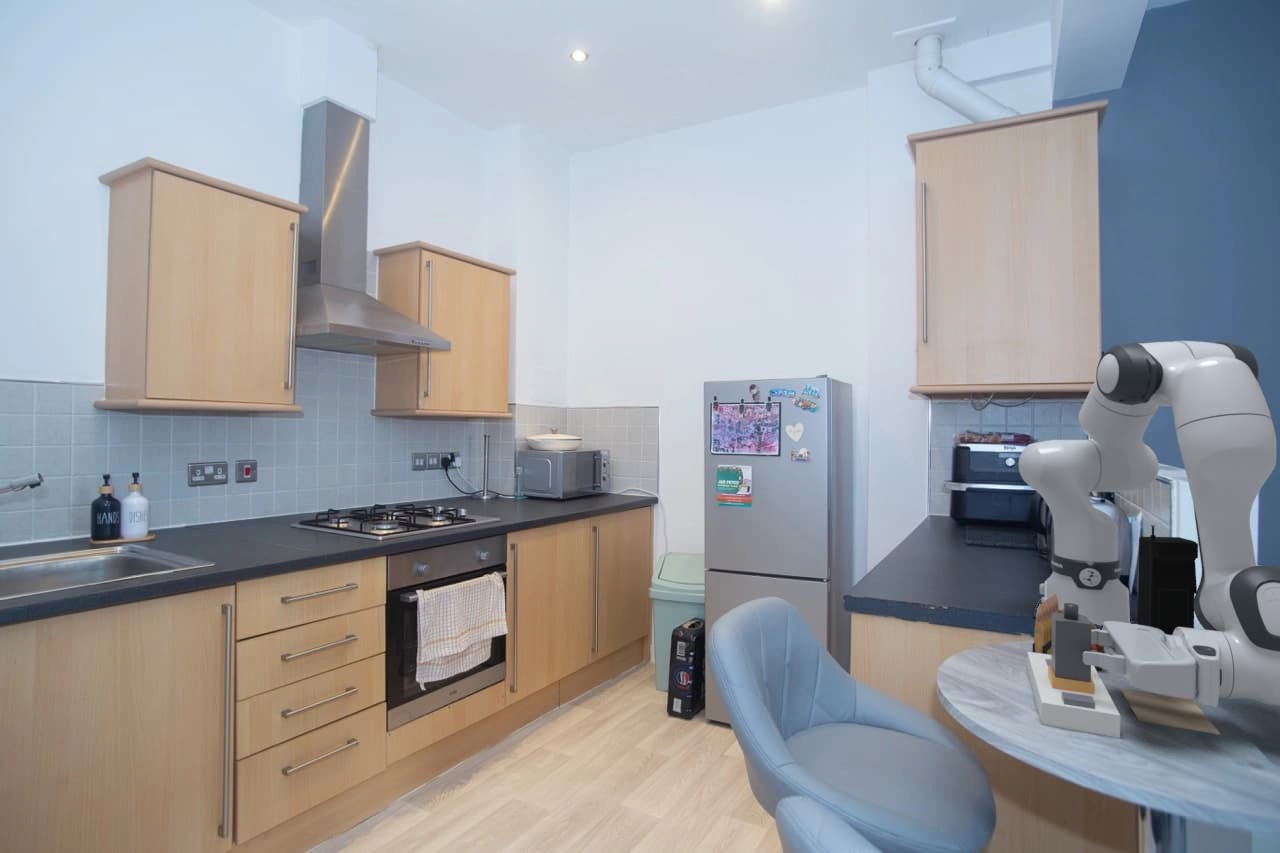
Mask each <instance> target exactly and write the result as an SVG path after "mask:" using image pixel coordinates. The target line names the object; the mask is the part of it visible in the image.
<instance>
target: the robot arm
mask: <svg viewBox="0 0 1280 853" xmlns="http://www.w3.org/2000/svg"><path fill="white" fill-rule="evenodd" d="M1259 370H1260V368H1259V364H1258V361H1257V359H1256V357H1255V354H1254V353H1253V352H1252V350H1250V349H1249V348H1248V347H1245V346H1242V345H1240V344H1236V343H1231V342H1226V341H1225V342H1224V341H1217V342H1207V341H1195V340H1174V341H1155V342H1144V343H1142V342H1141V343H1140V342H1127V343H1121V344H1117V345H1114V346H1111V347H1109V348H1108V349H1107V350H1106V351H1105V352H1104V353H1103V354H1102V356H1101V357H1100V359H1099V361H1098V363H1097V366H1096V373H1095V374H1096V375H1095V378H1096V379H1095V380H1094V382H1093V384H1092V386H1091V389H1089V392H1088V394H1087V396H1086V398H1085V399H1084V402H1083V403H1082V405H1081V407H1080V410H1079V412H1078V424H1079V426H1080V428H1081V430H1082V431H1083V433H1084V434H1085V435H1086V436H1088V437H1089V439H1050V440H1043V441H1038V442H1034V443H1030V444H1028V445H1026V446H1025V447H1024V449H1023V450H1022V452H1021V453H1020V455H1019V459H1018V471H1019V475H1020V476H1021V478H1022V480H1023V481H1024V482H1025V484H1027V485H1028V486H1029V487H1030V488H1032V489H1033V490H1034V491H1035V492H1037V493H1038V494H1039V496H1041V497H1042V498H1043V500H1044V501H1045V504H1046V505H1047V506H1048V509H1049V511H1050V514H1051V517H1052V521H1053V530H1054V532H1053V534H1054V535H1053V536H1054V552H1053V554H1052V556H1051V557H1052V559H1051V570H1052V573H1051V575H1050V576H1049V577H1048V578H1046V580H1045V581H1044V582H1043V583H1040V584H1039V594H1040V595H1044V596H1042V597H1041V598H1040V600H1041V602H1045V600H1047V599H1048V598H1050V597H1051V596H1053V595H1054V594H1056V596H1057V599H1058V606H1059V610H1064V603H1073V604H1077V605H1078V613H1079V614H1080V615H1082V616H1087V618H1088V620H1089V621H1091V622H1092V623H1093V624H1097V625H1100V626H1101V625H1103V628H1102V630H1100V629H1094V630H1091V644H1098V645H1100V646H1104V647H1106V649H1107V650H1108V652H1109V653H1105V654H1104V653H1099V652H1097V651H1096V650H1088V649H1083V650H1082V660H1083V662H1084V664H1086V665H1092V666H1099V667H1101V668H1103V669H1104V670H1107V671H1109V672H1113V673H1118V674H1123V676H1124V677H1125V679H1126V680H1127V682H1128V683H1129V685H1130V686H1131V687H1133V688H1135V689H1138V690H1141V691H1142V692H1146V693H1151V694H1157V695H1164V696H1171V697H1177V698H1183V699H1191V700H1193V701H1194V702H1195V703H1196V704H1199V705H1201V706H1207V707H1214V708H1215V707H1218V706H1219V701H1220V699H1226V700H1227V699H1228V700H1232V699H1233V700H1234V699H1249V700H1252V701H1256V702H1259V703H1261V704H1264V705H1269V706H1275V707H1276V706H1277V707H1280V567H1276V566H1271V565H1257V562H1256V558H1255V557H1256V556H1255V550H1254V549H1255V548H1254V543H1253V538H1252V530H1251V520H1250V519H1251V518H1250V517H1251V511H1252V508H1253V504H1254V502H1255V500H1256V498H1257V496H1258V494H1259V493H1260V491H1261V489H1262V487H1263V485H1264V484H1265V483H1266V481H1267V480H1268V478H1270V476H1271V475H1272V472H1273V471H1274V470H1275V468H1276V464H1277V453H1278V452H1277V448H1278V447H1277V446H1278V445H1277V437H1276V431H1275V427H1274V422H1273V419H1272V415H1271V411H1270V409H1269V406H1268V403H1267V400H1266V397H1265V395H1264V393H1263V390H1262V389H1261V385H1260V384H1259V382H1258V380H1259V376H1260V375H1259V374H1260V371H1259ZM1159 407H1167V408H1169V407H1170V408H1171V409H1172V415H1173V422H1174V429H1175V434H1176V439H1177V444H1178V447H1179V451H1180V455H1181V459H1182V462H1183V466H1184V470H1185V473H1186V478H1187V482H1188V487H1189V491H1190V495H1191V500H1192V503H1193V504H1192V505H1193V512H1194V520H1195V527H1196V529H1195V530H1196V535H1197V543H1198V551H1199V557H1200V564H1201V577H1200V581H1199V585H1198V587H1197V592H1196V594H1194V616H1196V619H1197V621H1198V623H1199V624H1200V626H1201V627H1202V628H1203V629H1202V628H1195V627H1194V628H1186V627H1177V628H1175V630H1174V632H1173V635H1168V634H1165V633H1164V632H1163V631H1162V630H1160V629H1157V628H1154V627H1149V626H1144V625H1138V624H1131V623H1130V619H1131V616H1130V615H1131V613H1130V610H1131V609H1130V591H1129V588H1128V587H1127V586H1126V585H1124V584H1123V583H1122V582H1121V581H1120V578H1121V570H1122V568H1121V567H1122V566H1121V561H1120V560H1119V558H1118V553H1119V552H1118V550H1119V549H1118V547H1119V546H1118V544H1119V538H1118V537H1119V534H1118V533H1119V527H1118V524H1117V523H1116V521H1115V520H1114V518H1113V517H1112V516H1111V515H1109V514H1107V513H1106V512H1104V511H1102V510H1100V509H1099V508H1096V507H1094V506H1093V504H1092V503H1091V500H1090V492H1091V493H1096V492H1097V493H1124V492H1133V491H1137V490H1143V489H1147V488H1149V487H1150V486H1151V485H1152V484H1153V483H1154V482H1155V480H1156V478H1157V477H1158V475H1159V471H1160V470H1159V468H1160V464H1159V460H1158V457H1157V455H1156V453H1155V452H1154V450H1152V448H1151V447H1150V446H1148V445H1147V444H1145V443H1144V440H1143V439H1144V438H1143V437H1144V434H1145V432H1146V429H1147V428H1148V426H1149V424H1150V422H1151V421H1152V419H1153V417H1154V415H1155V413H1156V412H1157V410H1158V408H1159Z"/></svg>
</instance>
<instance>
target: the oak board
mask: <svg viewBox="0 0 1280 853" xmlns="http://www.w3.org/2000/svg"><path fill="white" fill-rule="evenodd" d="M1120 691H1121V693H1122V694H1123V696H1124V698H1125V700H1126V702H1127V703H1128V704H1129V706H1130V708H1131V710H1132V711H1133V713H1134V714H1135V716H1136V718H1137V719H1138V721H1139V722H1142V723H1148V724H1154V725H1159V726H1167V727H1170V728H1171V727H1173V728H1179V729H1185V730H1191V731H1197V732H1203V733H1209V734H1213V735H1214V734H1216V735H1222V734H1221V732H1220V731H1219V730H1218V728H1217V727H1216V726H1215V725H1214V724H1213V722H1212V721H1211V720H1210V719H1209V718H1208V716H1207V715H1206V714H1205V713H1204V712H1203V710H1202V709H1201V708H1200V706H1198V705H1197V704H1198V703H1197V702H1196V701H1195V700H1194V699H1183V698H1177V697H1172V696H1166V695H1161V694H1156V693H1151V692H1145V691H1137V690H1136V691H1135V690H1128V689H1123V688H1120Z"/></svg>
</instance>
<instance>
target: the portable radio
mask: <svg viewBox="0 0 1280 853" xmlns="http://www.w3.org/2000/svg"><path fill="white" fill-rule="evenodd" d="M1150 527H1151V534H1150V535H1149V536H1139V538H1138V570H1137V571H1138V572H1137V573H1138V576H1137V577H1138V580H1137V584H1138V586H1137V609H1136V610H1137V612H1136V623H1137V624H1138V625H1144V626H1149V627H1154V628H1157V629H1160V630H1162V631H1163V632H1164V633H1165V634H1168V635H1173V632H1174V630H1175V628H1177V627H1186V628H1195V611H1194V598H1195V595H1196V592H1197V589H1198V587H1197V586H1198V585H1197V571H1196V560H1197V559H1198V558H1199V543H1198V542H1196V541H1194V540H1192V539H1188V538H1183V537H1179V536H1156V535H1155V525H1152V524H1151V525H1150Z"/></svg>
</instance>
